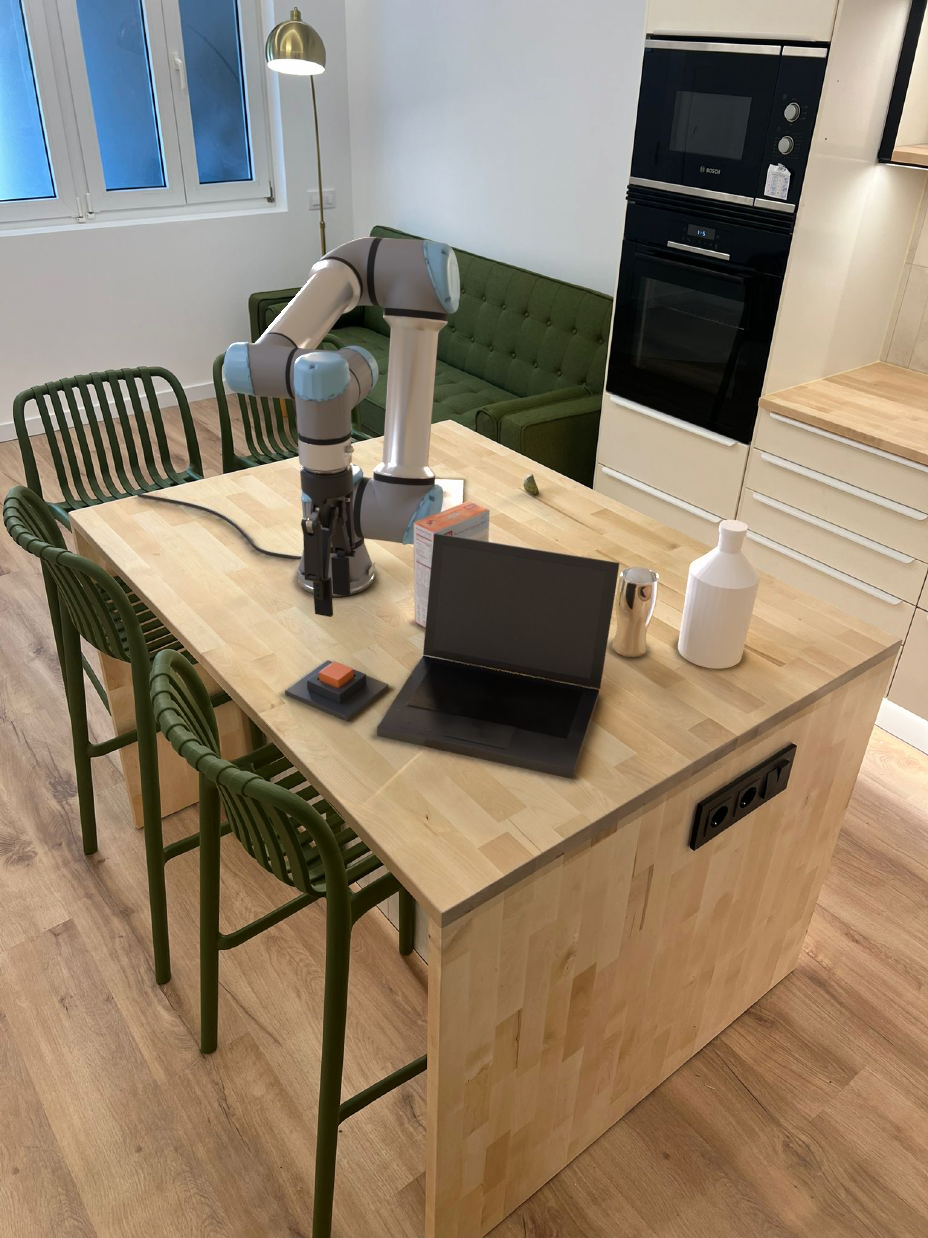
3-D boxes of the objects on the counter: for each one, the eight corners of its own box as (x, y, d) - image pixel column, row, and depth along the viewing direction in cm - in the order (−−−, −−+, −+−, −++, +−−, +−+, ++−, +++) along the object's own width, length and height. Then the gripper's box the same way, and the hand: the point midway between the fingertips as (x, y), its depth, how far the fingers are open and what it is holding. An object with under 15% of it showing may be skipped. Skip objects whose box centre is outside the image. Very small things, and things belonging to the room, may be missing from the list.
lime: (531, 488, 231) (532, 469, 229) (545, 494, 228) (546, 475, 226) (518, 493, 229) (519, 473, 226) (532, 499, 226) (534, 480, 223)
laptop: (573, 779, 138) (574, 769, 137) (376, 736, 146) (376, 726, 145) (598, 698, 156) (599, 689, 155) (422, 663, 163) (422, 654, 162)
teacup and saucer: (444, 498, 224) (445, 483, 222) (411, 497, 224) (411, 481, 222) (445, 484, 232) (446, 469, 230) (413, 483, 232) (413, 468, 230)
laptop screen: (619, 563, 149) (619, 562, 149) (433, 533, 156) (435, 533, 157) (599, 689, 155) (600, 688, 156) (422, 655, 162) (424, 653, 163)
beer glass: (606, 638, 172) (615, 565, 165) (643, 637, 173) (654, 565, 165) (614, 659, 166) (624, 585, 159) (652, 658, 167) (664, 584, 159)
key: (319, 681, 153) (318, 672, 153) (334, 669, 156) (334, 661, 156) (338, 689, 152) (338, 680, 151) (353, 677, 155) (353, 668, 154)
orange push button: (285, 695, 154) (283, 680, 153) (327, 664, 162) (327, 650, 161) (347, 722, 148) (347, 707, 147) (388, 689, 157) (388, 674, 155)
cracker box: (465, 597, 184) (468, 499, 173) (487, 609, 180) (492, 509, 169) (411, 622, 175) (412, 520, 165) (433, 635, 172) (435, 531, 161)
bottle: (756, 664, 166) (784, 537, 153) (696, 673, 163) (720, 544, 150) (722, 630, 176) (746, 507, 163) (664, 638, 173) (685, 514, 160)
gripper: (322, 493, 126) (330, 638, 138) (375, 446, 142) (377, 580, 154) (271, 485, 128) (283, 629, 140) (329, 439, 144) (335, 573, 155)
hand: (333, 603), depth 147 cm, fingers open, 6 cm apart
